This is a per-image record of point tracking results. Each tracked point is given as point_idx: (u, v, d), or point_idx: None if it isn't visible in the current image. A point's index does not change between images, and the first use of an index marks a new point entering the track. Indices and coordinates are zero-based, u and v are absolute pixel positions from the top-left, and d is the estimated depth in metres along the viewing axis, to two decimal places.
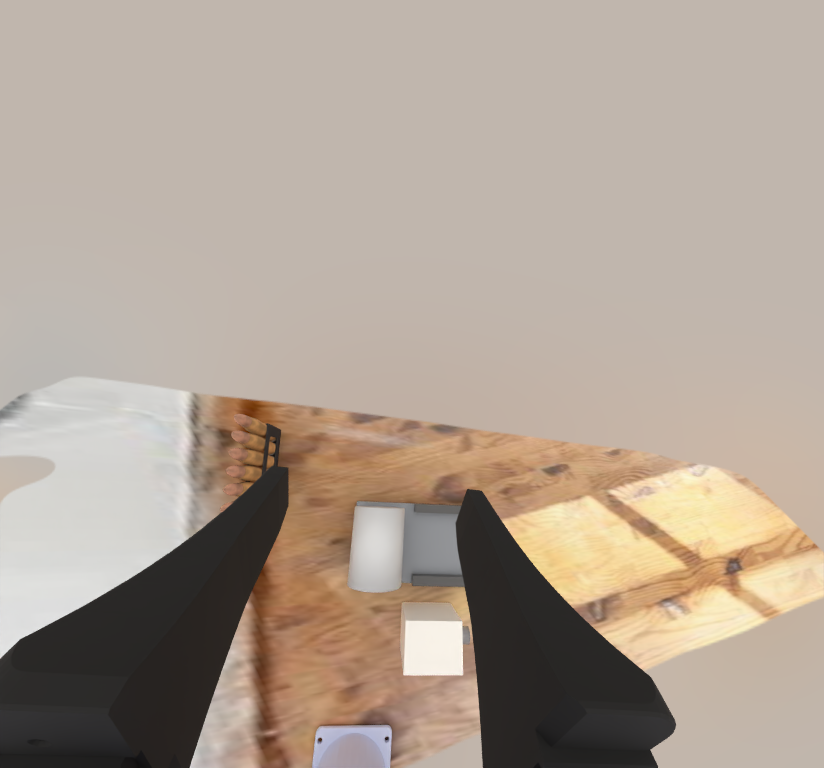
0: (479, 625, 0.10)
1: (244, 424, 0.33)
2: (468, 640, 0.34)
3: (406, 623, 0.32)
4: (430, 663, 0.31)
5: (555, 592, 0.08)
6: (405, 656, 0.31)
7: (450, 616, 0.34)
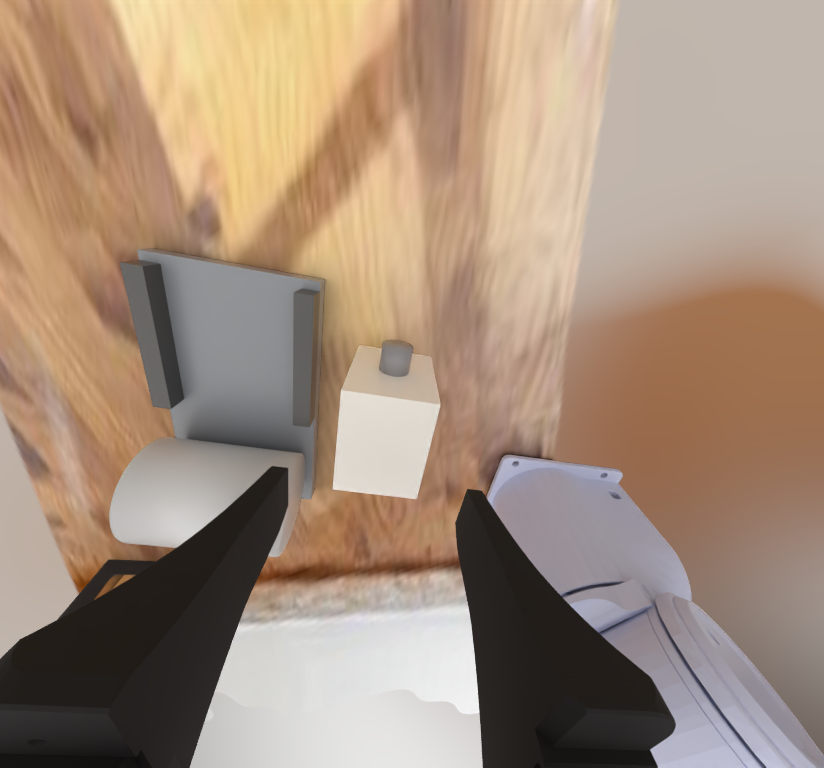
0: (479, 625, 0.10)
1: None
2: (401, 354, 0.15)
3: (337, 487, 0.16)
4: (407, 458, 0.15)
5: (555, 592, 0.08)
6: (389, 494, 0.16)
7: None
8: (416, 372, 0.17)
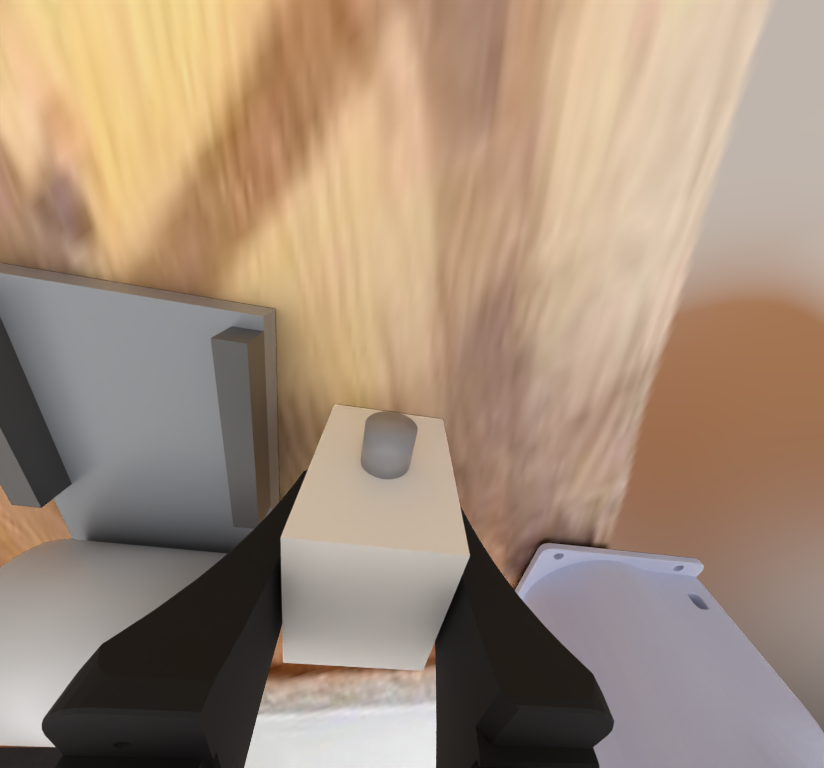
0: None
1: None
2: (396, 447, 0.09)
3: (292, 658, 0.10)
4: (407, 626, 0.09)
5: (510, 588, 0.08)
6: (378, 666, 0.10)
7: None
8: (422, 463, 0.10)
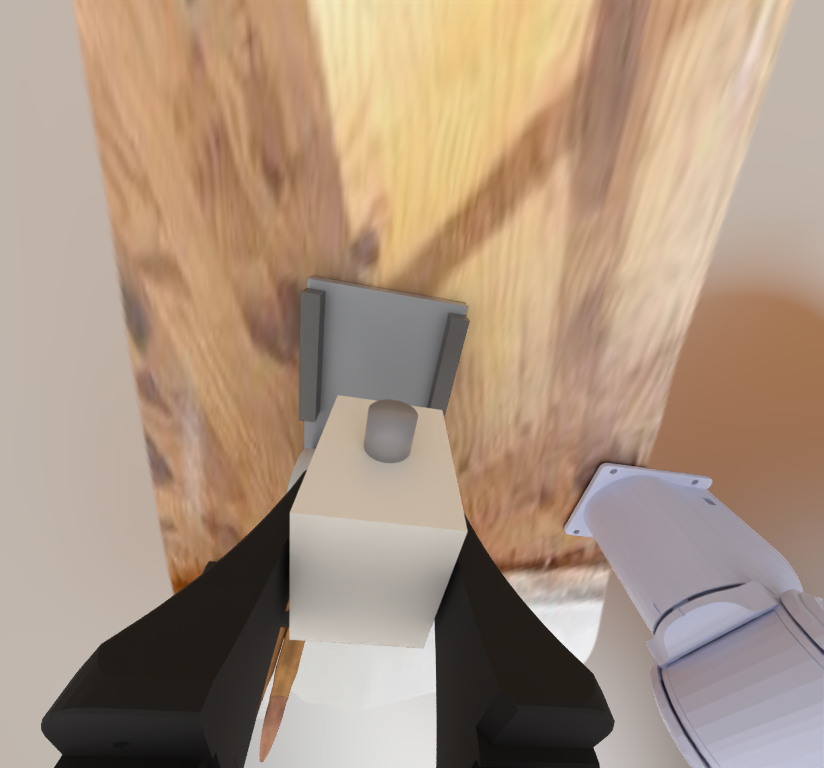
0: (440, 622, 0.10)
1: None
2: (398, 432, 0.09)
3: (298, 636, 0.10)
4: (408, 602, 0.09)
5: (510, 588, 0.08)
6: (380, 643, 0.10)
7: None
8: (422, 449, 0.11)
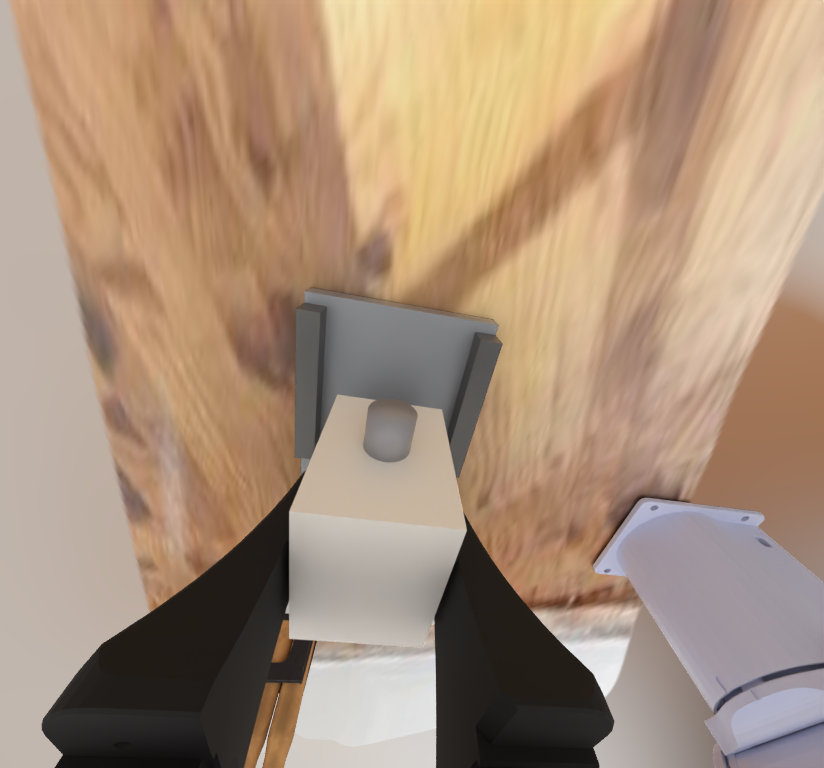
0: (440, 622, 0.10)
1: None
2: (398, 431, 0.09)
3: (297, 635, 0.10)
4: (408, 601, 0.09)
5: (510, 588, 0.08)
6: (379, 642, 0.10)
7: None
8: (422, 448, 0.11)
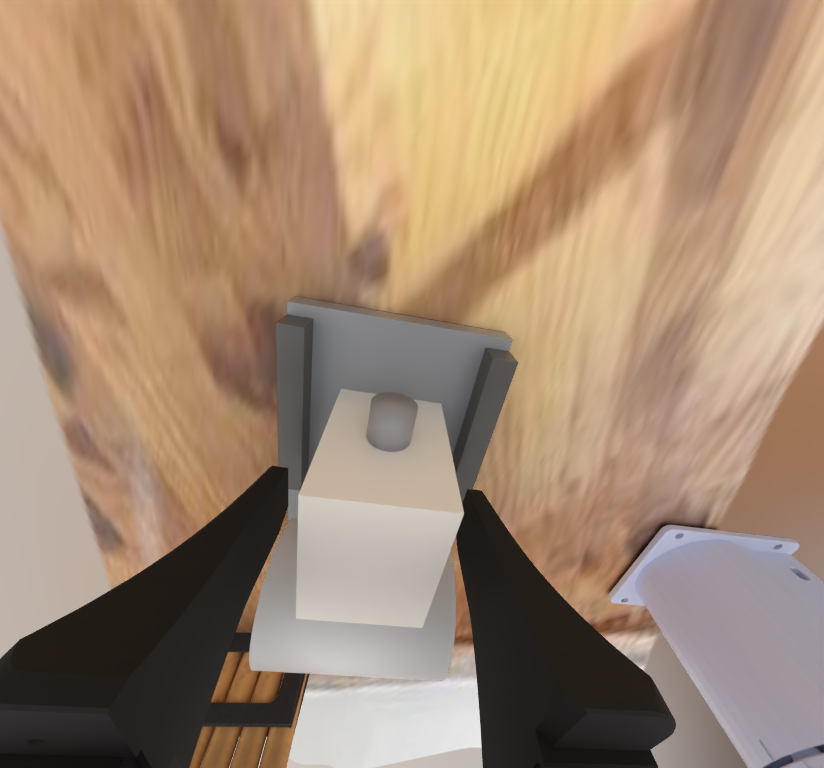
0: (479, 625, 0.10)
1: None
2: (399, 422, 0.10)
3: (304, 615, 0.11)
4: (408, 582, 0.10)
5: (555, 592, 0.08)
6: (381, 623, 0.11)
7: None
8: (422, 439, 0.11)
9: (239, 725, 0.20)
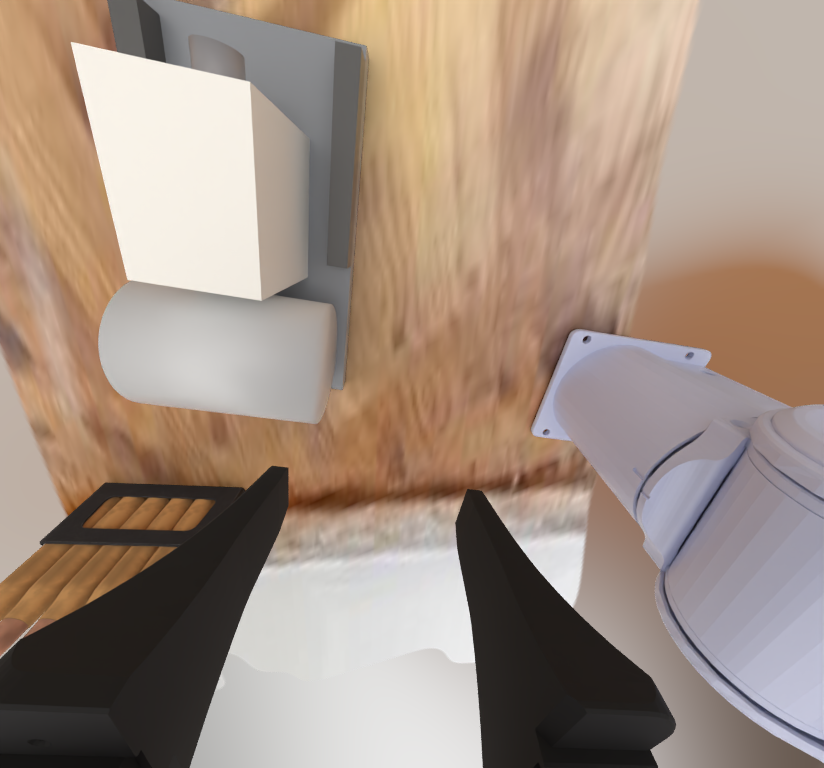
0: (479, 625, 0.10)
1: None
2: (211, 45, 0.10)
3: (136, 278, 0.11)
4: (225, 212, 0.10)
5: (555, 592, 0.08)
6: (217, 290, 0.11)
7: None
8: None
9: (152, 544, 0.20)
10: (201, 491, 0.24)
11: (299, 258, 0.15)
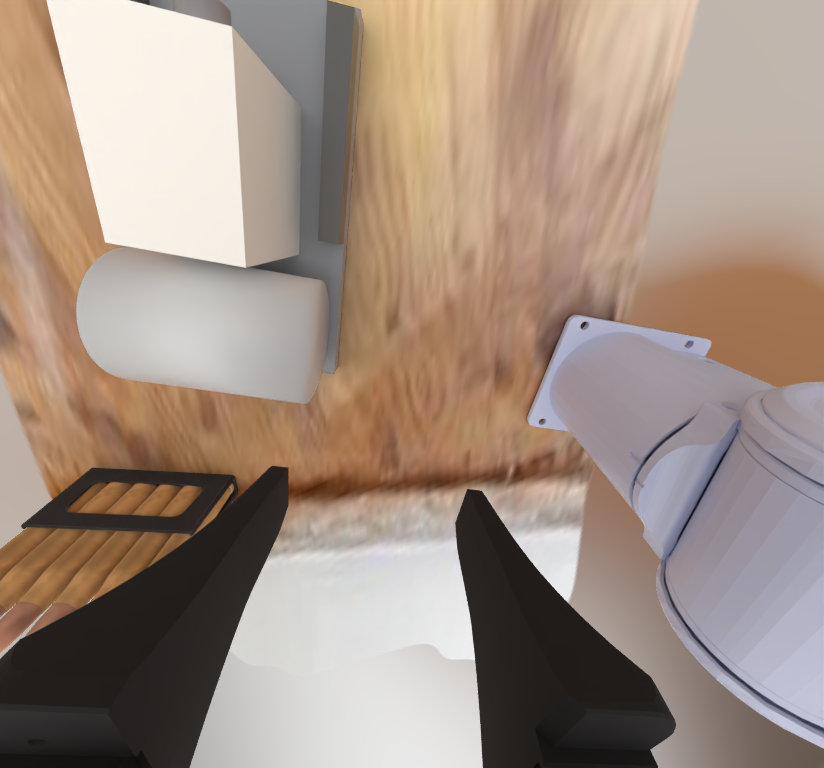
0: (479, 625, 0.10)
1: None
2: None
3: (114, 240, 0.10)
4: (207, 171, 0.09)
5: (555, 592, 0.08)
6: (199, 255, 0.10)
7: None
8: None
9: (137, 530, 0.19)
10: (190, 478, 0.23)
11: (290, 232, 0.14)
